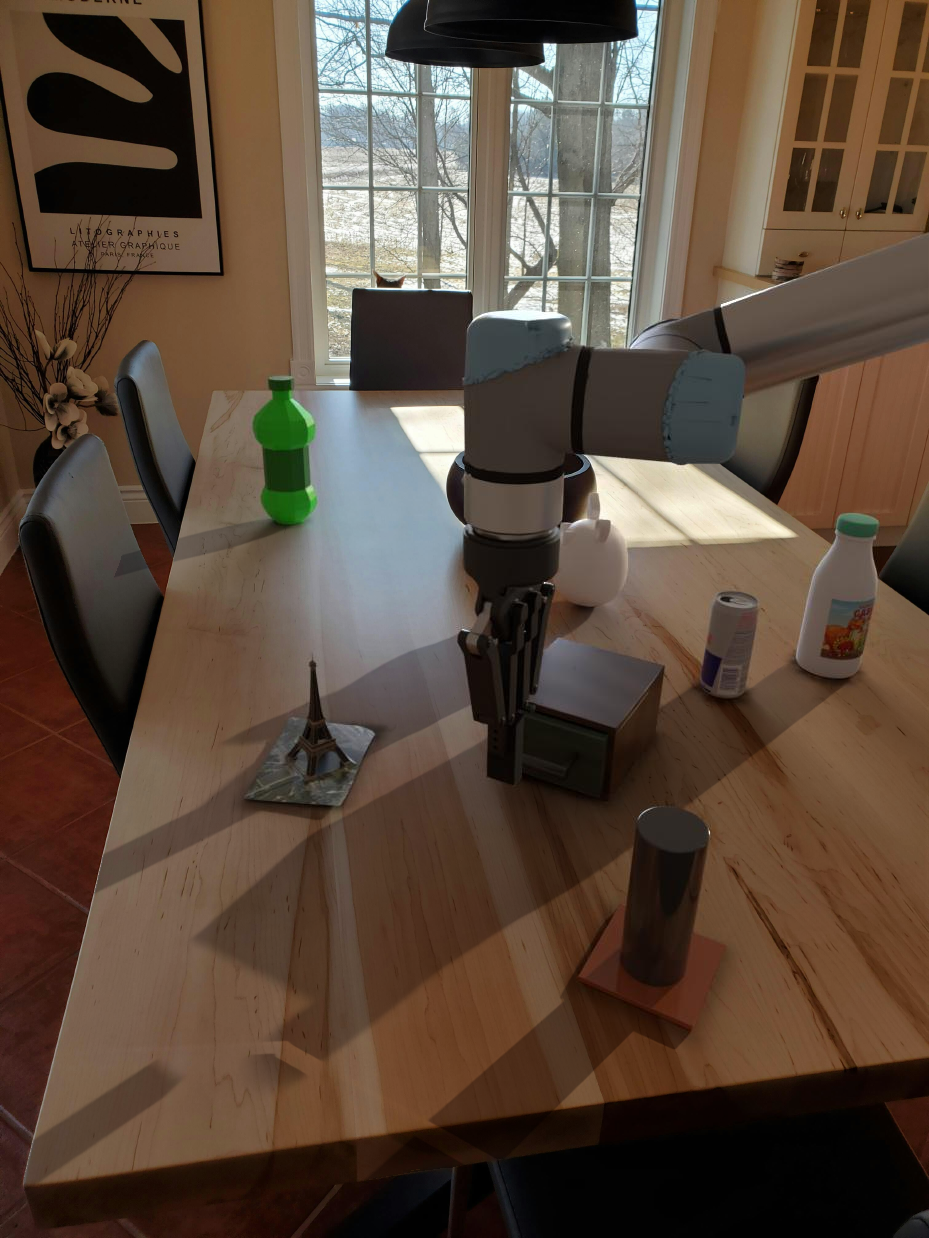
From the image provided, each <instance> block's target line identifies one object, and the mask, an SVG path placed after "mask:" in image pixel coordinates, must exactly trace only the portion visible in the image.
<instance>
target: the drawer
mask: <svg viewBox="0 0 929 1238" xmlns="http://www.w3.org/2000/svg"><path fill="white" fill-rule="evenodd" d="M523 714H524V732H523V756H522V774H525V775H529V776H531V777H535V778H538V779H540V780H542V781H546V782H549V783H552V784H555V785H557V786H561V787H564V788H567V789H569V790H572V791H575V792H578V793H581V794H584V795H587V796H590V797H593V798H596V799H600V798H599V797H600V796H601V794H602V793H603V788H604V778H605V769H606V760H607V750H608V741H609V735H608V733H607V732H604V731H600V730H597V729H594V728H590V727H587V726H584V725H581V724H577V723H574V722H571V721H568V720H564V719H561V718H558V717H555V716H551V715H548V714H545V713H541V712H538V711H534V712H533V713H529V712H526V711H523Z"/></svg>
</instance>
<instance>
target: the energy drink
mask: <svg viewBox="0 0 929 1238" xmlns="http://www.w3.org/2000/svg"><path fill="white" fill-rule="evenodd" d="M760 609H761V608H760V601H759V599H758V598H757V597H756V596H754V595H753V594H750V593H748V592H744V591H740V590H722V591H720V592H717V593H715V595H714V599H713V601H712V603H711V609H710V614H709V615H710V616H709V622H708V629H707V635H706V641H705V648H704V654H703V660H702V666H701V673H700V679H699V685H700V687H701V689H702V690H703V691H704V692H705V693H706V694H708V695H710V696H713V697H716V698H719V699H735V698H738V697H740V696H741V695H743V694H744V693H745V692H746V686H747V681H748V676H749V670H750V665H751V659H752V654H753V648H754V641H755V637H756V632H757V627H758V622H759V615H760V611H761V610H760Z"/></svg>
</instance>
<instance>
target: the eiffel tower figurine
mask: <svg viewBox="0 0 929 1238" xmlns="http://www.w3.org/2000/svg"><path fill="white" fill-rule="evenodd" d="M308 667H309V671H310V673H309V674H310V675H309V676H310V677H309V680H310V681H309V706H308V715H307V716H306V718H299V717H290V718H289V719H288V721H287V723H286V725H285V726H284V727H283V730H282V731H281V733H280V735H279V736H278V738H277V740H276V742H275V743H274V745H273V747H272V749H271V750H270V752H269V753H268V754H267V757H266V758H265V760H264V762H263V763H262V766H261V767H260V768H259V770H258V772H257V774H256V775H255V777H254V779H253V781H252V783H251V784H250V787H249V788H248V790H247V791H246V793H245V794H244V797H243V799H245V800H254V801H265V802H277V803H278V802H279V803H292V804H293V803H294V804H309V805H326V806H335V807H341V806H342V804H343V802H344V801H345V800H346V797H347V795H348V793H349V792H350V789H351V787H352V785H353V783H354V781H355V778H356V775H357V772H358V770H359V767H361V766H362V765H361V764H362V763H361V762H362V760H363V758H364V756H365V754H366V751H367V750H368V747H369V746H370V744H371V742H372V740H373V738H374V736H375V735H376V733H375V732H374V731H373V730H371V729H369V728H366V727H365V726H362V725H361V726H360V725H352V724H345V723H344V724H343V723H335V722H330V721H326V720H327V718H326V717H324V713H323V708H322V703H321V698H320V690H319V684H318V683H319V682H318V676H317V667H318V665H317V662H316V661H314V657H313V654H311V660H310V661H309V662H308Z"/></svg>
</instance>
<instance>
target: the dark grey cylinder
mask: <svg viewBox="0 0 929 1238" xmlns="http://www.w3.org/2000/svg"><path fill="white" fill-rule="evenodd" d="M634 833H635V834H634V839H633V846H632V854H631V863H630V871H629V878H628V886H627V893H626V901H625V906H626V908H625V916H624V923H623V931H622V939H621V946H620V961H621V964H622V966H623V968H624V969H625V970H626V972H627V973H628V974H629V975H630V976H632V977H633V978H634V979H636V980H637V981H639V982H641V983H644V984H647V985H651V986H669V985H672V984H674V983H676V982H678V981H679V980H680V979H682V977H683V976H684V975H685V973H686V970H687V964H688V958H689V953H690V947H691V941H692V936H693V932H694V930H695V925H696V919H697V918H696V917H697V914H698V913H697V912H698V906H699V901H700V897H701V896H700V895H701V889H702V885H703V884H702V883H703V880H704V879H703V878H704V873H705V867H706V862H707V855H708V850H709V844H710V839H711V832H710V829H709V826H708V825H707V823H706V822H705V821H704V820H703V819H702V818H701V817H699V816H698V815H697V814H695V813H693V812H691V811H689V810H687V809H684V808H680V807H677V806H671V805H669V806H668V805H660V806H654V807H650V808H648V809H646V810H644V811H642V812H641V814H640V815H639V816H638V817H637V820H636V824H635V832H634Z"/></svg>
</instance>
